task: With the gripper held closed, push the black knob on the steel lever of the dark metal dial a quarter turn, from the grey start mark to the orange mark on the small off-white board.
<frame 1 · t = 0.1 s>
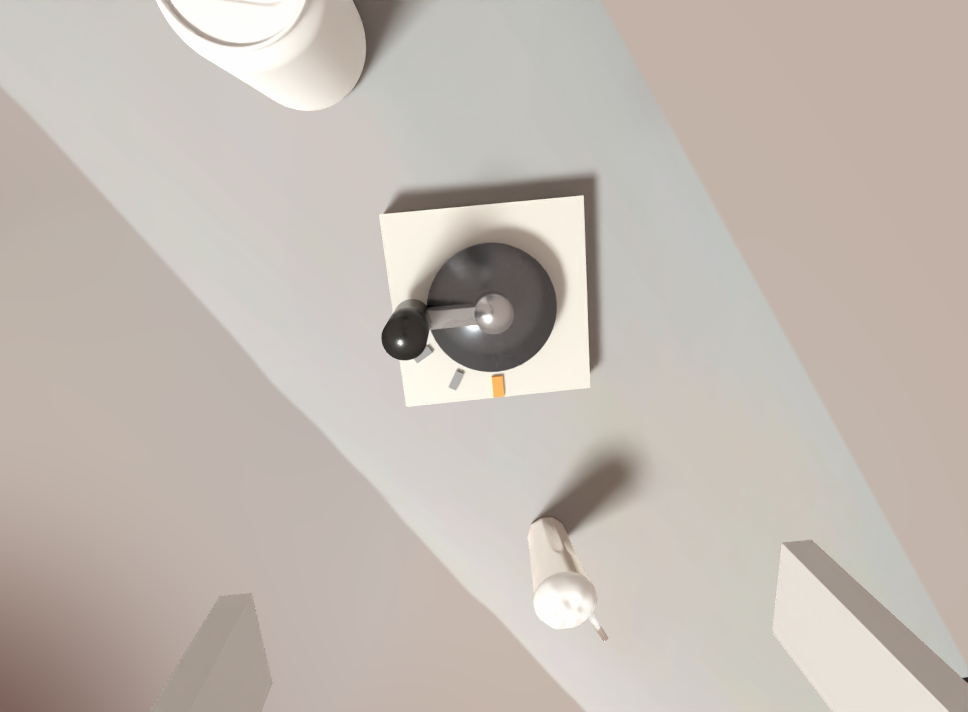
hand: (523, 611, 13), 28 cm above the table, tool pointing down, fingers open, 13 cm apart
milkshake: (549, 533, 45), on the table
dial board: (488, 301, 39), on the table
dial: (477, 318, 33), point 6 cm above the table, hinge at -90.0°
beverage can: (306, 46, 34), on the table
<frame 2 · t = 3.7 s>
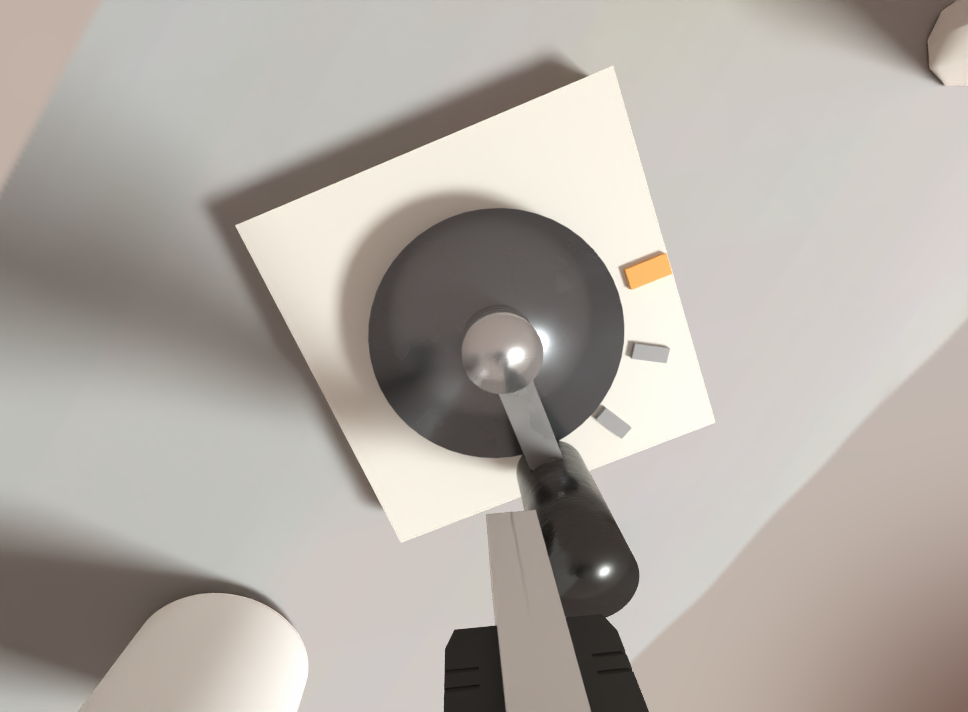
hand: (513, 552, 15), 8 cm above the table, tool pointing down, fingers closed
milkshake: (967, 31, 19), on the table
dial board: (491, 321, 21), on the table
dial: (517, 393, 16), point 6 cm above the table, hinge at -90.0°, touching gripper
beverage can: (229, 648, 25), on the table
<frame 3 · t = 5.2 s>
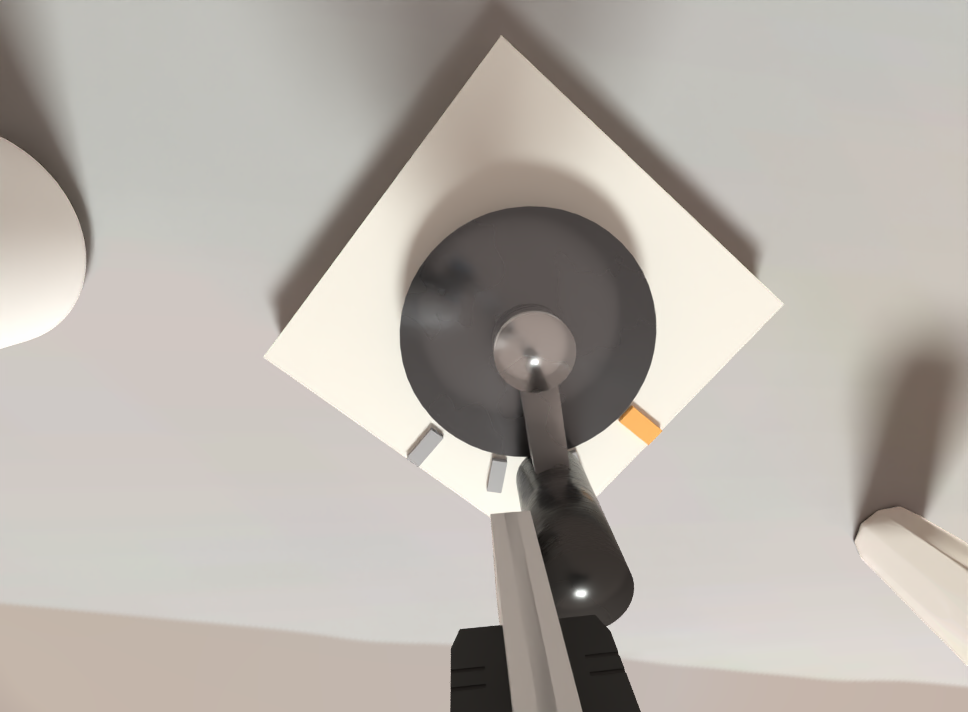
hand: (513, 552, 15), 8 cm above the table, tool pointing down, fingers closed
milkshake: (892, 531, 25), on the table
dial board: (519, 319, 21), on the table
dial: (543, 394, 16), point 6 cm above the table, hinge at -40.6°, touching gripper
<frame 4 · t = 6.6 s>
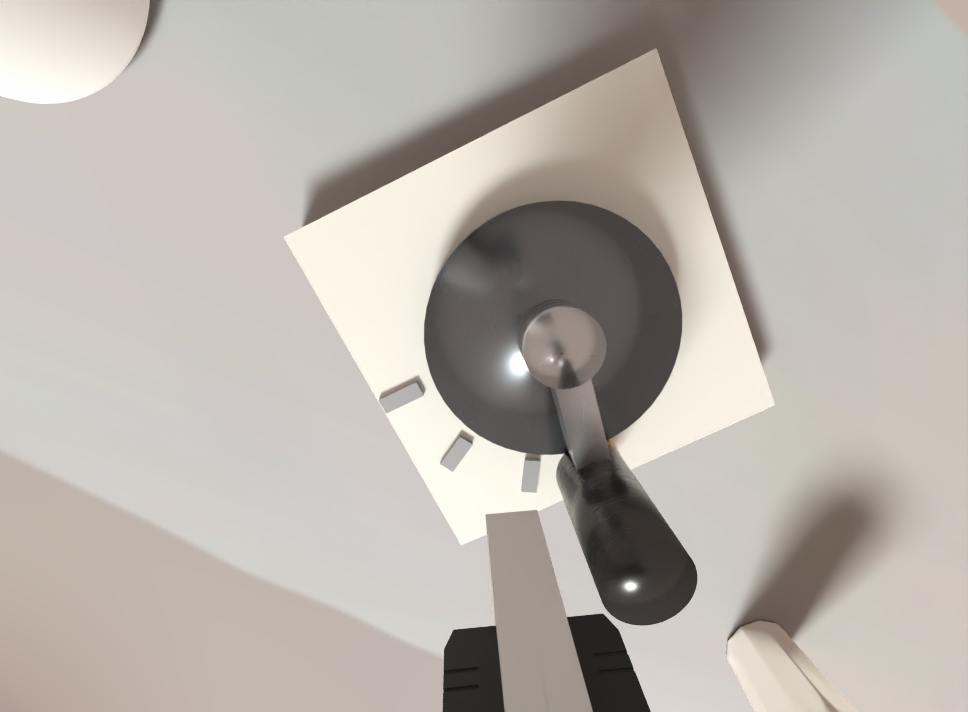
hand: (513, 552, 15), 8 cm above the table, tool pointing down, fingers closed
milkshake: (760, 643, 27), on the table
dial board: (538, 316, 21), on the table
dial: (578, 389, 16), point 6 cm above the table, hinge at -9.1°
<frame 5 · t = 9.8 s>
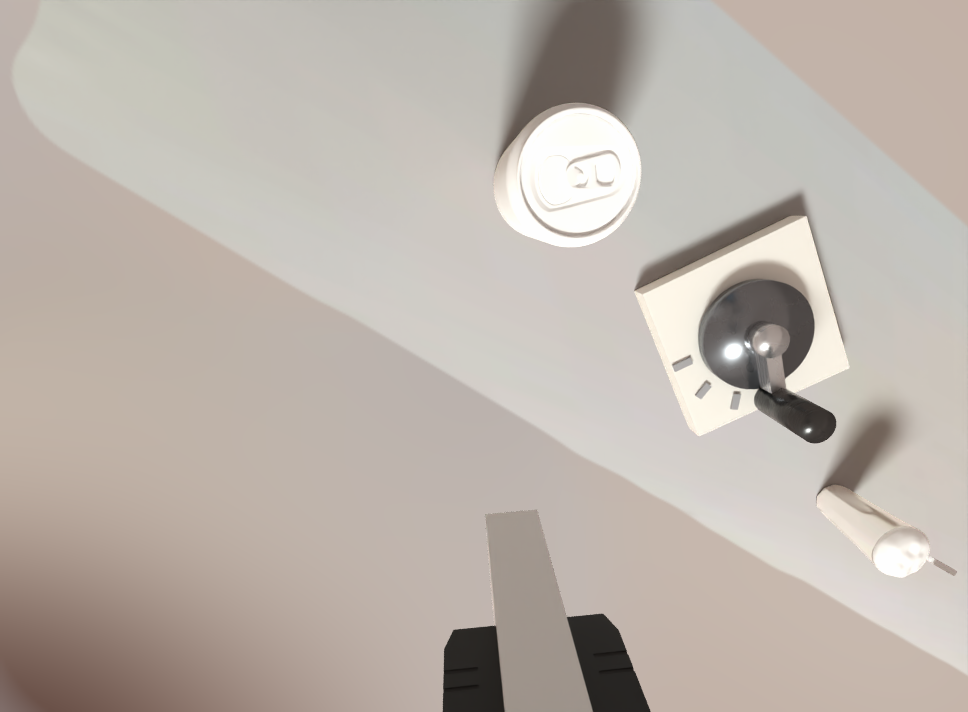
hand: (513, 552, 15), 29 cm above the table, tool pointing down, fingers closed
milkshake: (833, 498, 50), on the table
dial board: (736, 327, 44), on the table
dial: (780, 357, 39), point 6 cm above the table, hinge at -9.0°
beverage can: (543, 186, 41), on the table
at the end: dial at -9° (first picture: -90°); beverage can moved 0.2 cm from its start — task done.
